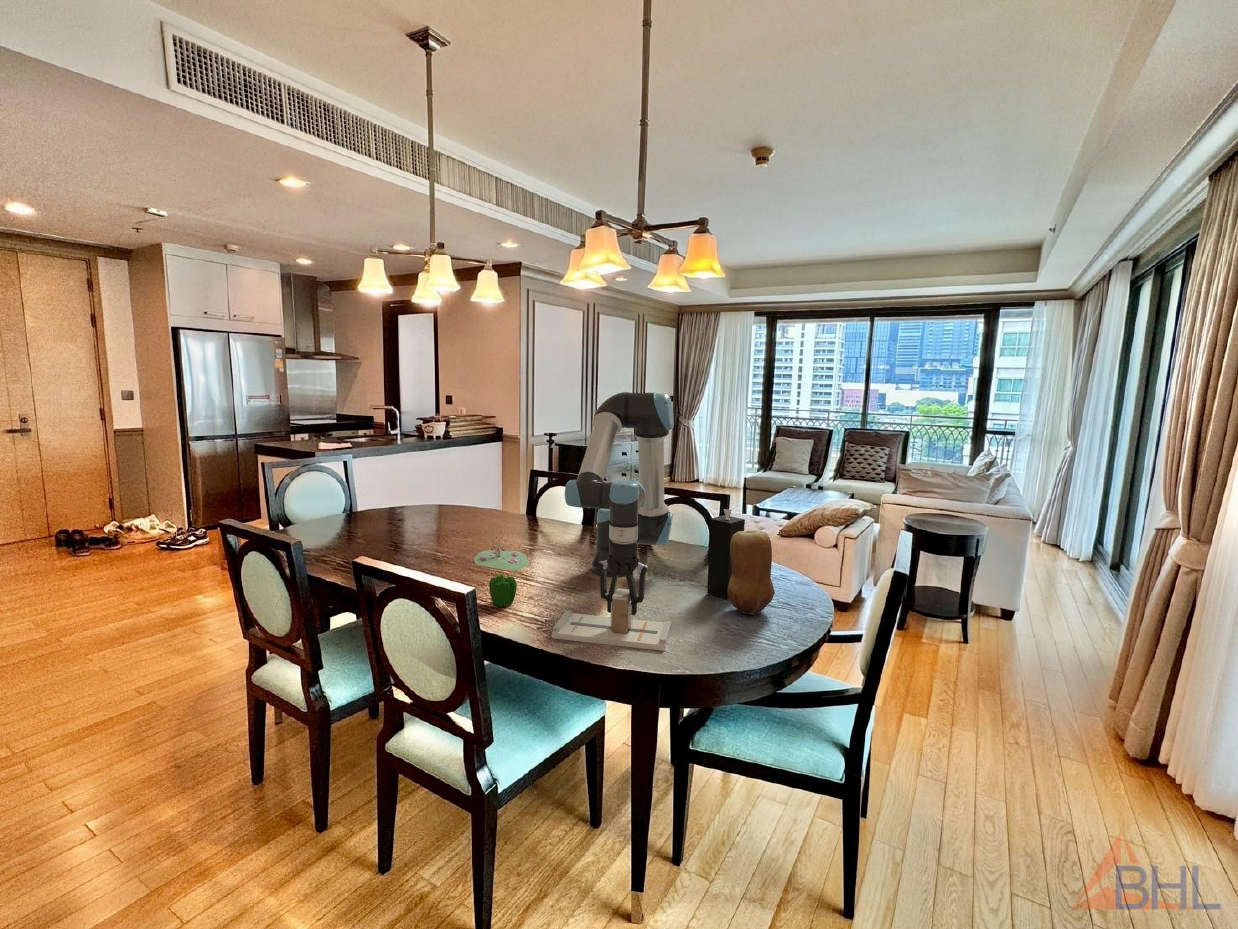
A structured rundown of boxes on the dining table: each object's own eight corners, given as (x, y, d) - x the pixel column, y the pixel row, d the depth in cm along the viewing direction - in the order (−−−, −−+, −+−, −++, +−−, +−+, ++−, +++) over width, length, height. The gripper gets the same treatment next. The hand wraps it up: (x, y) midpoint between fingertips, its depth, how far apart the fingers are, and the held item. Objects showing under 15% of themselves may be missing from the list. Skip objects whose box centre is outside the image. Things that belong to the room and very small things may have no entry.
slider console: (567, 617, 170) (567, 609, 169) (671, 628, 164) (672, 620, 163) (551, 638, 156) (551, 629, 156) (664, 651, 150) (665, 641, 150)
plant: (548, 563, 221) (548, 539, 219) (503, 576, 206) (502, 551, 204) (506, 549, 237) (506, 527, 236) (462, 560, 222) (461, 537, 221)
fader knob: (616, 622, 163) (617, 588, 161) (631, 624, 162) (631, 589, 160) (611, 631, 157) (612, 596, 155) (626, 633, 156) (627, 597, 155)
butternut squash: (732, 601, 185) (735, 523, 181) (776, 608, 180) (780, 528, 176) (721, 617, 172) (725, 533, 168) (769, 625, 167) (774, 539, 163)
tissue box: (721, 588, 196) (725, 505, 192) (741, 594, 191) (745, 509, 187) (706, 593, 191) (710, 508, 187) (727, 600, 185) (731, 512, 181)
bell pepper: (504, 596, 185) (504, 565, 184) (522, 603, 180) (521, 571, 178) (482, 604, 179) (482, 572, 177) (500, 611, 173) (499, 578, 172)
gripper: (588, 541, 154) (587, 627, 157) (653, 546, 150) (650, 634, 154) (595, 534, 161) (594, 616, 165) (657, 539, 158) (655, 622, 161)
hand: (621, 624), depth 159 cm, fingers closed on fader knob, 4 cm apart
